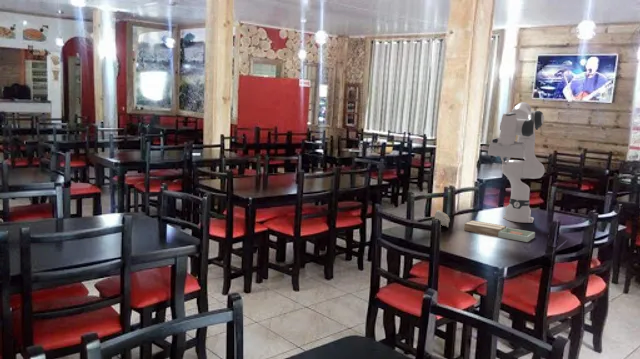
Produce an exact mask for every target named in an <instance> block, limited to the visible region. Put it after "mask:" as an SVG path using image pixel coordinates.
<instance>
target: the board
mask: <svg viewBox="0 0 640 359" xmlns="http://www.w3.org/2000/svg"><path fill="white" fill-rule="evenodd" d="M505 228H507V226H506V225H502V224H497V223H496V224H495V223H490V222H484V221H477V220H470V221H468V222H465V223H464V227H463V231H467V232H472V233H478V234H482V235H488V236H493V237H498V232H499V231H501V230H503V229H505Z"/></svg>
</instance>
